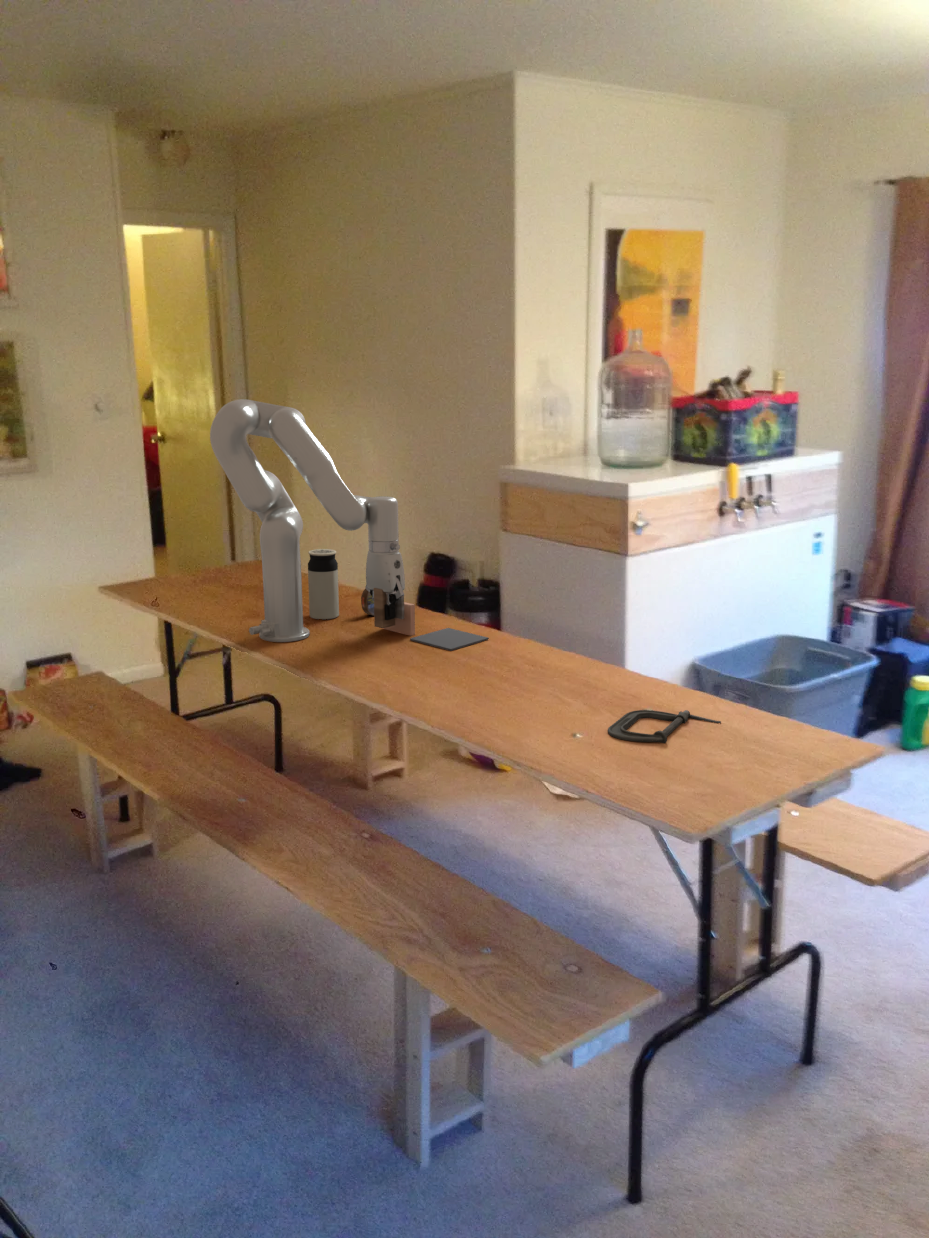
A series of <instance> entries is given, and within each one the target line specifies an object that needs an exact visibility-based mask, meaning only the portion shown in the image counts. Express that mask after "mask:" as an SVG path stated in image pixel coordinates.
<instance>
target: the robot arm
mask: <svg viewBox="0 0 929 1238" xmlns="http://www.w3.org/2000/svg"><path fill="white" fill-rule="evenodd" d="M247 435H252V436H256V437H257V436H258V437H262V438H268V439H272V440H273V442H275V444H276V445H277V446H278V447H279V449H280V450H281V451H282V453H283V454H284V455H285V456H286V457H287V459H288V460H289V461H290V463H291V464H292V465H293V467H294V468H295V469H296V470H297V471H298V473H299V474H300V476H301V477H302V478H303V480H304V481H305V483H306V485H307V486H308V488H309V489H310V490H311V491H312V493H313V495H314V496H315V497H316V498H317V500H318V501H319V503H320V504H321V506H322V507H323V509H325V511H326V512H327V513H328V515H329V516H330V517H331V518H332V520H333V521H334V522H335V523H336V524H337V525H338V527H340V528H342V529H343V530H345V531H351V532H352V531H356V530H359V529H360V528H362V527H363V525H364V524H367V530H368V531H367V536H368V551H367V555H366V562H365V583H366V585H365V586H364V587H365V588H366V590H367V591H368V592H370V594H371V596H372V600H373V602H374V588H377V589H382V590H383V592H385V596H386V605H385V620H390V619H394V618H395V603H397V600H398V599H399V598H401V597H403V596H404V597H405V592H404V590H405V589H406V588H405V587H406V581H405V567H404V562H403V560H404V559H403V556H402V553H401V552H400V548H401V546H400V541H399V537H400V536H399V502H398V500H397V498H395V497H393V496H382V495H381V496H372V497H371V496H364V495H355V494H353V493H352V492H351V490H350V489H349V488H348V487H347V485H346V484H345V482H344V481H343V479H342V478H341V476H340V474H339V473H338V470H337V468H336V465H335V463H334V460H333V458H332V456H331V455H330V453H329V452H328V451H327V449H325V446H323V445H322V444H321V441H319V440H318V438H317V437H316V436H315V435H314V433H313V432H312V431H311V429H310V428H309V426H308V425H307V423H306V419H305V416H304V415H303V413H302V412H301V411H299V410H298V409H297V408H294V407H290V406H285V405H279V404H274V403H273V404H272V403H268V402H263V401H258V400H257V401H256V400H253V399H248V398H247V399H246V398H241V399H239V398H238V399H235V400H232V401H228V402H227V403H226V404H223V406H221V408H220V409H219V410H218V412H217V413H216V415H215V417H214V418H213V420H212V423H211V426H210V432H209V439H210V446H211V448H212V451H213V454H214V456H215V457H216V459H217V461H218V463H219V465H220V466H221V469H222V470H223V472H224V473H225V475H226V477H227V479H228V480H229V483H230V484H231V486H232V487H233V489H234V491H235V492H236V494H237V497H238V498H239V500H240V502H241V503H242V505H244V508H246V509H247V510H249V511H251V512H254V513H256V515H257V516H258V519H259V520H260V522H261V526H260V530H259V545H260V552H261V554H260V555H261V564H262V565H261V566H262V567H261V568H262V569H261V570H262V585H263V607H264V608H263V611H264V619H261V620H260V621H261V622H260V624H259V625H256V626H250V627H249V630H248V632H249V634H250V635H251V636H253V635H258V634H259V636H258V637H259V638H260V639H261V640H263V641H266V642H267V641H268V642H273V643H274V642H275V643H290V642H297V641H301V640H305V639H307V638H309V636H310V633H311V632H310V630H309V629H308V628H307V627H305V626H304V613H303V611H304V610H303V607H304V605H303V584H302V583H303V582H302V581H303V580H302V579H303V578H302V565H301V564H302V563H301V561H302V560H301V546H300V541H301V538H300V537H301V535H302V533H303V530H304V522H303V518H302V516H301V513H300V512H299V510H298V509H297V507H296V505H295V504H294V502H293V501H292V499H291V497H290V495H289V493H288V492H287V489H285V487H284V485H283V483H282V482H281V480H280V479H279V477H278V476H276V474H274V473H273V472H271V471H269V470H266V469H264V467H263V466H262V465H261V463H260V461H259V459H258V457H257V456H256V453H255V452H254V450H253V448H251V446H250V444H249V443H248V441H247ZM365 588H364V589H365ZM391 594H392V596H391V598H390V595H391Z"/></svg>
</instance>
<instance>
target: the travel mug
mask: <svg viewBox="0 0 929 1238" xmlns="http://www.w3.org/2000/svg"><path fill="white" fill-rule="evenodd" d="M336 554H337V551H336V550H335V549H330V548H317V549H313V550H312V549H311V550H309V551H308V556H309V560H308V562H307V579H308V580H307V583H308V585H307V586H308V609H309V612H308V613H309V617H310V618H311V619H314V620H319V619H322V621H325V620H326V619H327V620H332V619H336V618H337V617H339V616H340V607H339V603H340V602H339V601H340V600H339V596H340V595H339V569H338V567H339V565H338V564H339V563H338V561H337V560H336Z"/></svg>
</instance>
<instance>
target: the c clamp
mask: <svg viewBox="0 0 929 1238" xmlns="http://www.w3.org/2000/svg"><path fill="white" fill-rule="evenodd" d="M689 718H690V719H693V720H699V721H702V720H704V722H709V723H713V722H714V724H718V723H720V724H722V721H721V720H715V719H712V718H711V719H710V718H707V717H702V716H698V715H694V714H691V712H690V711H689V710H688V709H685V710H684V711H678V714H676V713H671V712H667V711H660V710H653V709H652V710H651V709H639V710H638V709H637V710H631V711H629V712H627V713H625V714H624V715H623V716H621V717H620V718H619V719H618V720H617V721H615V722H614V723H612V724H611V725H609V727H608V728H607V733H608V736H610V737H613V738H615V739H619V740H624V741H631V742H641V743H642V742H643V743H646V742H647V743H648V742H650V743H651V742H655V743H661V744H666V743H667V742H668V736H669V735H670V734H672V733H673V732H674V730H676V729H677V728H678V727H679V726H681V724H685V723H686V722H688V720H689ZM640 719H655V720H660V721H665V722H671V723H669V724H668V725H667V726H666V727H665V728H664V729H663V730H657V731H655V732H654V733H643V732H642V733H641V732H635V731H629V730H628V729H630V728H631V727H632V726H634V724H635V723H637V721H639V720H640Z"/></svg>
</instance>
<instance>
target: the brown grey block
mask: <svg viewBox="0 0 929 1238" xmlns="http://www.w3.org/2000/svg"><path fill="white" fill-rule="evenodd" d="M391 596H392V594H391V595H390V598H391ZM404 602H405V595H404V596H403V597H401V598H399V599H398V600H397V603H395V618H399V619H404ZM385 605H386V596H385V592H383V590H382V589H377V588H374V619H373V620H374V622H373V623H374V627H375V628H379V629H384V628H386V627H390V626H394V625H395V618H394V619H390V620H385Z"/></svg>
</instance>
